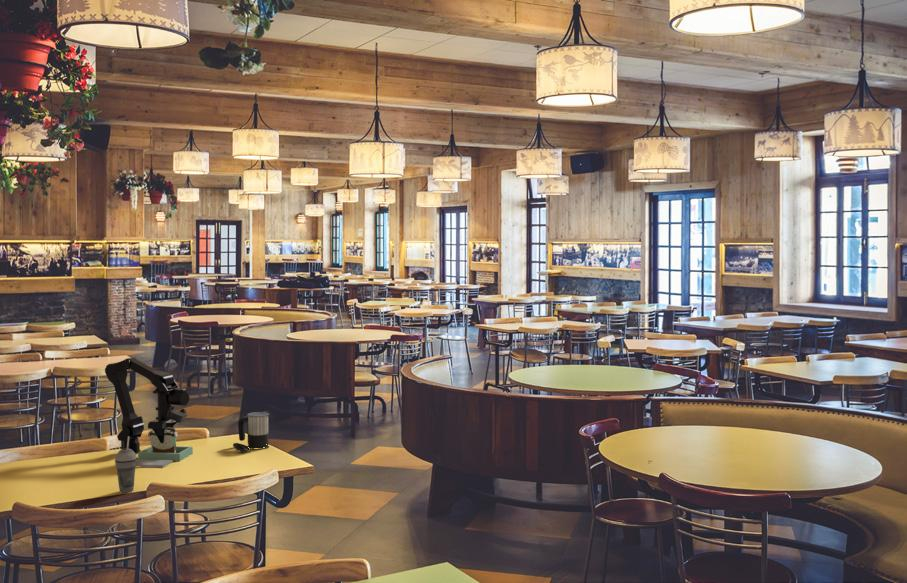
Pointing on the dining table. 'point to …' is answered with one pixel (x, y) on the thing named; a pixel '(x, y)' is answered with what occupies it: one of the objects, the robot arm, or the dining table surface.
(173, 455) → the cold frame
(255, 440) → the milk frother
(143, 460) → the slate tile
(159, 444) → the food container
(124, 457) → the beverage cup
